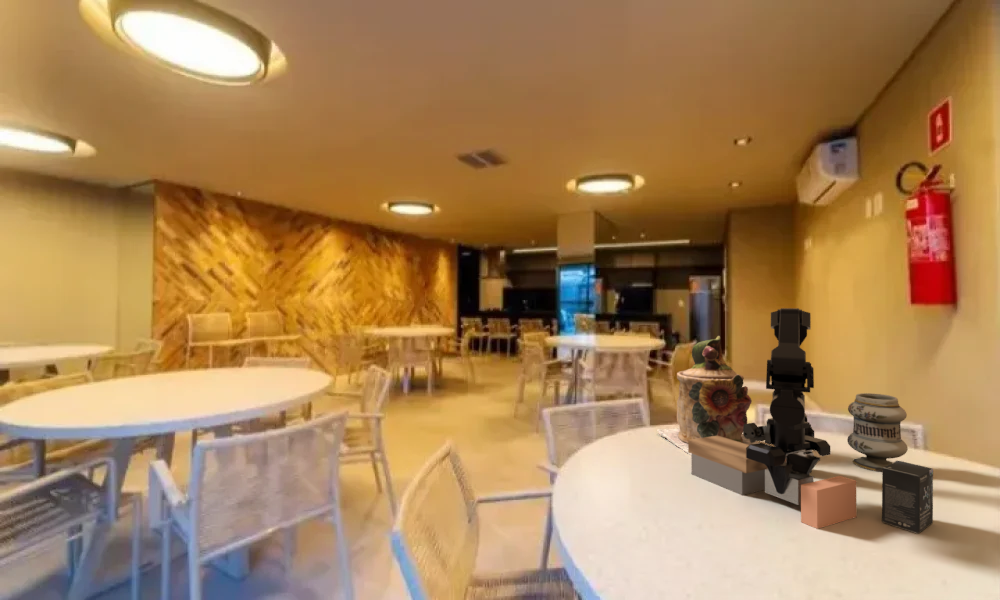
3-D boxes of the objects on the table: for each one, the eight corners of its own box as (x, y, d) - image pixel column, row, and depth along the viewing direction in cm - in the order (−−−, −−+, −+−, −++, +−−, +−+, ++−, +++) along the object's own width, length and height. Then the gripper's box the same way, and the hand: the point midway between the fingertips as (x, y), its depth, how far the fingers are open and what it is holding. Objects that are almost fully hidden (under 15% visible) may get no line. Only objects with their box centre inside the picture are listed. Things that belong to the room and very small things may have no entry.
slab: (717, 447, 120) (717, 435, 120) (777, 466, 106) (777, 453, 106) (688, 452, 116) (688, 439, 116) (746, 473, 102) (746, 459, 102)
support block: (780, 488, 102) (779, 465, 102) (813, 500, 96) (813, 476, 96) (764, 492, 100) (764, 469, 100) (798, 505, 94) (798, 480, 94)
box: (919, 534, 85) (919, 475, 85) (881, 522, 90) (880, 466, 90) (934, 524, 89) (933, 467, 89) (896, 512, 94) (896, 459, 94)
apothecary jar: (855, 470, 118) (855, 398, 118) (841, 456, 129) (841, 390, 129) (916, 477, 114) (916, 402, 114) (896, 462, 125) (896, 393, 125)
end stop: (840, 510, 95) (839, 475, 95) (856, 516, 92) (856, 480, 92) (801, 521, 90) (800, 484, 90) (817, 528, 87) (817, 490, 87)
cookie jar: (653, 433, 152) (653, 333, 152) (726, 432, 155) (726, 333, 155) (693, 458, 127) (693, 339, 128) (778, 455, 130) (778, 339, 130)
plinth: (721, 468, 119) (721, 448, 119) (773, 487, 107) (773, 465, 107) (691, 474, 115) (691, 453, 115) (742, 495, 102) (742, 471, 103)
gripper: (781, 404, 110) (781, 472, 109) (723, 411, 102) (723, 484, 102) (831, 414, 99) (832, 489, 99) (772, 423, 92) (772, 504, 92)
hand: (788, 491), depth 98 cm, fingers closed on support block, 5 cm apart
